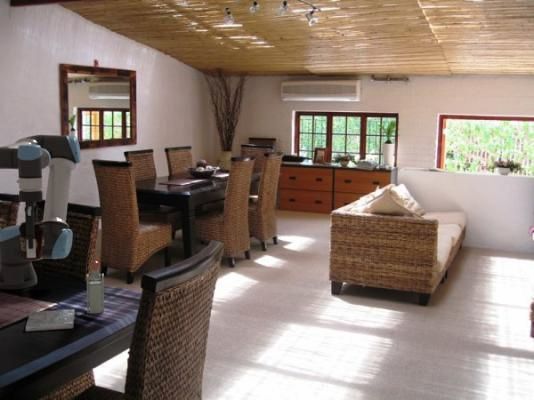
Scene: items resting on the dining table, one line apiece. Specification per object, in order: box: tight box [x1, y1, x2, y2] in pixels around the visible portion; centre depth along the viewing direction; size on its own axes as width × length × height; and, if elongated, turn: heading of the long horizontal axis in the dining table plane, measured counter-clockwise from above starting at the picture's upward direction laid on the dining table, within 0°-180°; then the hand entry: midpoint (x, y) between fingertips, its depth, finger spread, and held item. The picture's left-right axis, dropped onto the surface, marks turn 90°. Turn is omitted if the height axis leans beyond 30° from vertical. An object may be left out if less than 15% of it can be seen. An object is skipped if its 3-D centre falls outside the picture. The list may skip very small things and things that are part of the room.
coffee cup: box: [19, 221, 45, 262], centre depth 202 cm, size 9×8×13 cm
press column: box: [86, 273, 105, 314], centre depth 201 cm, size 4×6×13 cm
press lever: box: [89, 260, 102, 282], centre depth 195 cm, size 15×4×3 cm
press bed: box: [25, 308, 75, 332], centre depth 191 cm, size 14×14×2 cm
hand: (32, 254), depth 203 cm, fingers closed on coffee cup, 7 cm apart
